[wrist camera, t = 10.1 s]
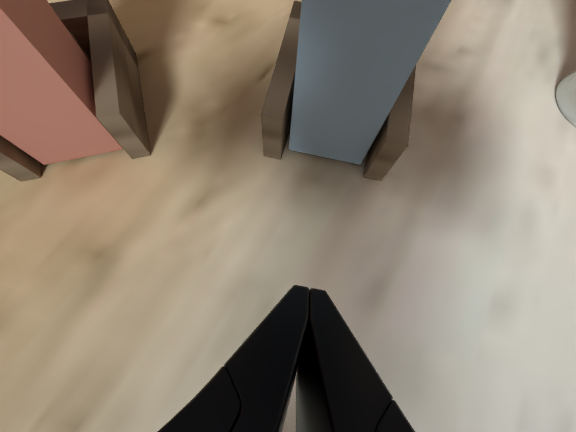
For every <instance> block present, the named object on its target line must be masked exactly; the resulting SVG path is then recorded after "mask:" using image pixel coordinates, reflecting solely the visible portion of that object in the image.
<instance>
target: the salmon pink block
mask: <svg viewBox="0 0 576 432" xmlns="http://www.w3.org/2000/svg"><path fill="white" fill-rule="evenodd" d="M0 135H1V136H2V137H4V138H5V139H7V140H8V141H10V142H11V143H13V144H14V145H16V146H17V147H19V148H20V149H21V150H23V151H24V152H26V153H27V154H29V155H30V156H32V157H33V158H35V159H36V160H38V161H39V162H41V163H42V164H43V165H45V164H50V163H56V162H61V161H66V160H71V159H76V158H81V157H86V156H91V155H96V154H101V153H106V152H111V151H116V150H121V149H123V147H122V146H121V145H120V144H119V143H118V142H117V141H116V139H115V138H114V137H113V136H112V135H111V134H110V133H109V131H108V130H107V129H106V128H105V127H104V126H103V124H102V123H101V122H100V121H99V120H98V119H97V118H96V107H95V96H94V85H93V74H92V64H91V62H90V61H89V60H88V58H87V57H86V55H85V54H84V52H83V51H82V50H81V48H80V47H79V45H78V44H77V43H76V41H75V40H74V38H73V37H72V35H71V34H70V33H69V31H68V30H67V28H66V27H65V26H64V24H63V23H62V21H61V20H60V18H59V17H58V16H57V14H56V13H55V11H54V10H53V9H52V7H51V6H50V4H49V3H48V2H47V0H0Z"/></svg>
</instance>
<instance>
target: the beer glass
mask: <svg viewBox="0 0 576 432" xmlns="http://www.w3.org/2000/svg"><path fill="white" fill-rule="evenodd" d="M556 100H557V104H558V106H559V108H560V110H561V112H562V113H563V115H564V116H565V117H566V118H567V119H568V121H570V122H571V123H572V124H573V125H574V126H576V70H574V71H573V72H571V73H570V74H568V75H567V76H565V77H564V78H563V79H562V80H561V81H560V82H559V84H558V86H557V89H556Z"/></svg>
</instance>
